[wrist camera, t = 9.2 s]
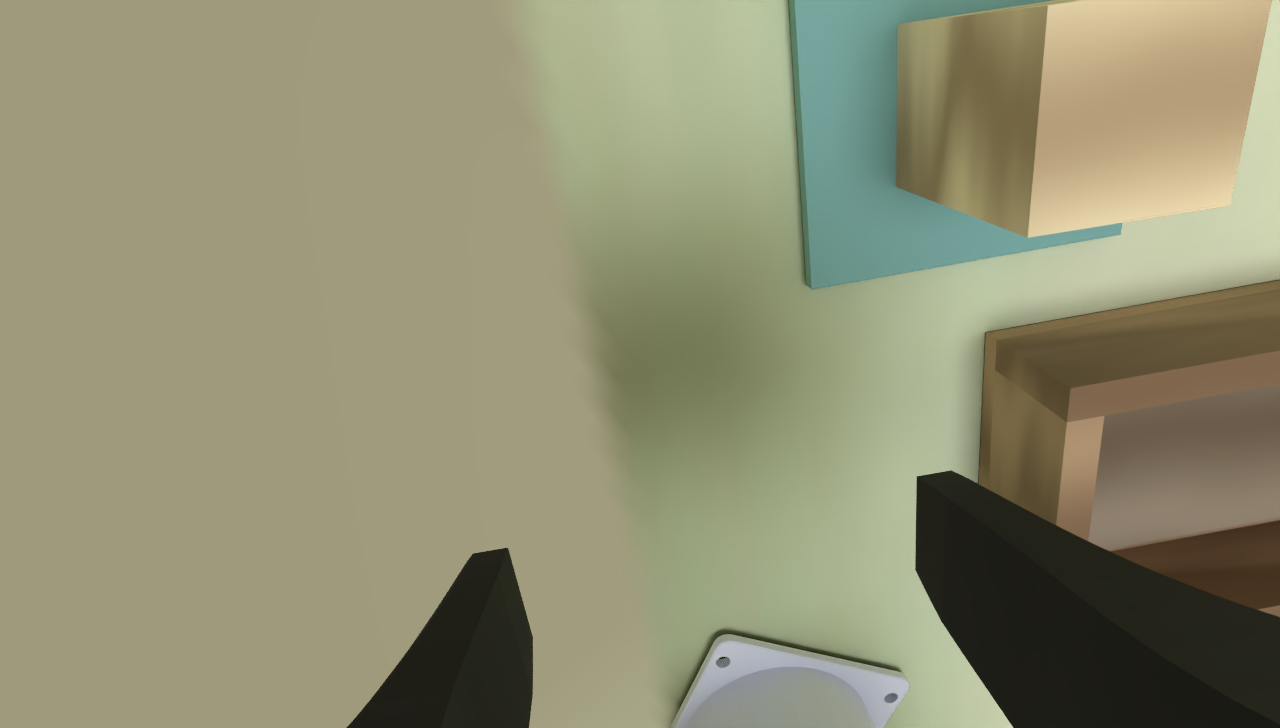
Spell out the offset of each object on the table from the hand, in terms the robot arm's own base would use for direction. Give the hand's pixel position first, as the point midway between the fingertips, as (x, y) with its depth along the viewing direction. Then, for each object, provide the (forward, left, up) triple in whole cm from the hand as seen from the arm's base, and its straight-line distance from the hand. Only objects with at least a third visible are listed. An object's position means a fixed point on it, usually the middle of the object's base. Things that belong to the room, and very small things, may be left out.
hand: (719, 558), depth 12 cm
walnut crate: (+3, -18, -9) cm, 20 cm away
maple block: (+9, -5, -9) cm, 14 cm away
